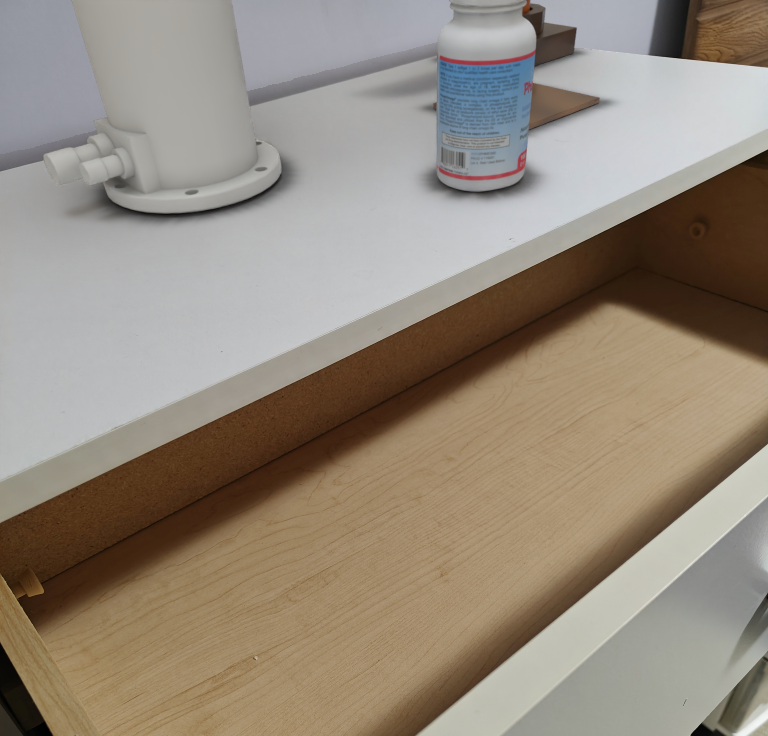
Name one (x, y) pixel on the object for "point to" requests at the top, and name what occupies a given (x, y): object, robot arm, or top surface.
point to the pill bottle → (484, 94)
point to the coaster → (554, 104)
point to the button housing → (549, 36)
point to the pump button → (526, 7)
